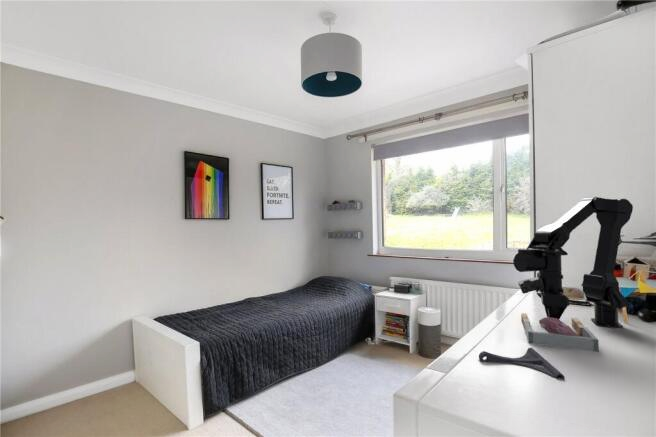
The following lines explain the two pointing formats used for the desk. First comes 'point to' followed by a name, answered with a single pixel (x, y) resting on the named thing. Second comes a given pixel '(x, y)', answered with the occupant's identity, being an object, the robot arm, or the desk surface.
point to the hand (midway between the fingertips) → (551, 321)
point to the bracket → (525, 362)
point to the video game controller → (556, 326)
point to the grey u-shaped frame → (563, 339)
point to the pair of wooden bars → (575, 323)
